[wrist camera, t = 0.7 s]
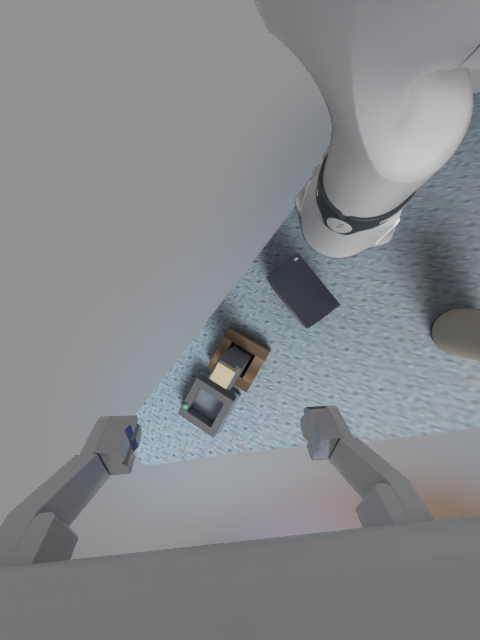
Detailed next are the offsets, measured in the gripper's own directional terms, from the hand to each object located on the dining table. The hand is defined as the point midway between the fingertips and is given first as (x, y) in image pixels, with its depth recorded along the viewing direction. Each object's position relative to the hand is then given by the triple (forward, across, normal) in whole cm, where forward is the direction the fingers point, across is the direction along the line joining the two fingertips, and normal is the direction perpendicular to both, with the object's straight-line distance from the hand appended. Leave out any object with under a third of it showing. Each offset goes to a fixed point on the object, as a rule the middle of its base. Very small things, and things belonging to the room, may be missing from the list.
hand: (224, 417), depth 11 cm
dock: (+25, +2, +31) cm, 40 cm away
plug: (+28, -4, +21) cm, 35 cm away
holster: (+28, -4, +21) cm, 35 cm away
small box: (+32, -16, +8) cm, 36 cm away
